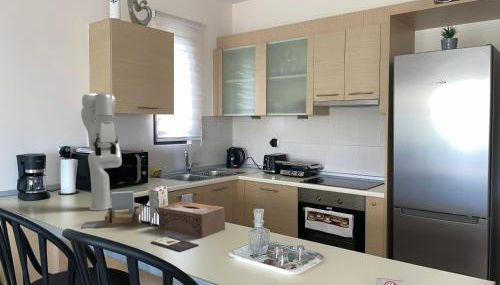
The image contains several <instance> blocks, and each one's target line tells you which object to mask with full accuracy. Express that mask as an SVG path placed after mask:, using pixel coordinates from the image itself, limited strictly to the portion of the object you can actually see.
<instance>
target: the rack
mask: <svg viewBox="0 0 500 285" xmlns="http://www.w3.org/2000/svg"><path fill="white" fill-rule="evenodd" d="M134 211H135V220H134V221H132V222H118V223H112V208H108V209H107V213H106V214H105V215H104V220H105V227H104V228H116V227H130V226H132V225H133V226H138V225H139V223H140V219H139V214H141V212H140V205H134Z"/></svg>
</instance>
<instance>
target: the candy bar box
mask: <svg viewBox="0 0 500 285" xmlns="http://www.w3.org/2000/svg"><path fill="white" fill-rule="evenodd" d="M168 191H169V190H168V186H167V185H166V186H164V185H160V186H157V187H154V188H152V189H150V190H148V204H149V220H150V226H152V223H151V221H152V218H153V216H154V213H155V207H156V208H158V207H162V206H166V205H169V195H168V194H169V193H168ZM158 210H159V208H158Z"/></svg>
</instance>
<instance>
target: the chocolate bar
mask: <svg viewBox="0 0 500 285" xmlns="http://www.w3.org/2000/svg"><path fill="white" fill-rule="evenodd" d="M150 244H153V245H156V246H158V247H162V248H164V249H165V248H166V249H168V250H172V251H175V252H178V253H182V252H185V251H189V250H191V249H194V248H197V247H199V246H200V245H199V244H197V243H193V242H191V241H187V240H183V239H181V238H176V237H172V236H166V237H163V238H159V239H156V240H152V241H150Z"/></svg>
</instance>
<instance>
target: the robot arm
mask: <svg viewBox="0 0 500 285" xmlns="http://www.w3.org/2000/svg"><path fill="white" fill-rule="evenodd" d="M115 97H116V96H115V95H114V93H112V92H91V93H88V94H83V95H82V97H81V106H82V108H81V111H80V114H81V119H82V123H83V125H84V128H85V129H86V132H87V138H88V145H89V149H90V150H91V151H92V152H90V153H89V154H88V157H87V160H88V166H89V173H90V188H91V205H90V206H89V207H88V209H89V210H90V211H106V210H107V211H108V208H112V203H111V190H110V187H111V186H110V176H109V174H108V172H106V171H105V169H113V168H114V169H115V168H119V167H121V166H122V164H123V163H122V162H123V160H122V159H123V158H122V152H121V147H120V141H119V138H120V137H119V136H118V135H116V129H115V125H114V122H113V121H114V117H115V109H116V98H115Z"/></svg>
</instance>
